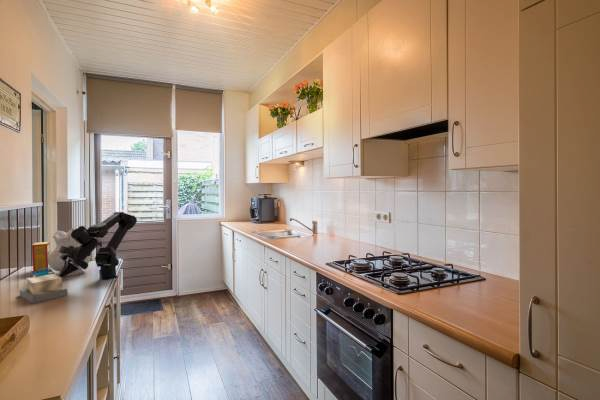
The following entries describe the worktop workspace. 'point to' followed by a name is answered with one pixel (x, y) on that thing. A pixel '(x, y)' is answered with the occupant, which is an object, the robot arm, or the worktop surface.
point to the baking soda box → (40, 256)
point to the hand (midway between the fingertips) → (59, 277)
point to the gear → (42, 273)
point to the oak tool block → (44, 284)
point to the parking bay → (42, 297)
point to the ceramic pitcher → (54, 257)
